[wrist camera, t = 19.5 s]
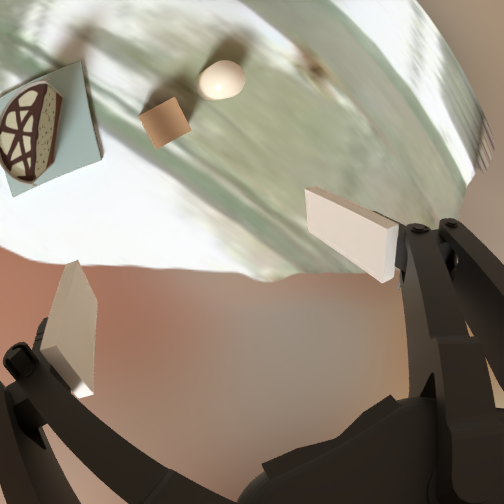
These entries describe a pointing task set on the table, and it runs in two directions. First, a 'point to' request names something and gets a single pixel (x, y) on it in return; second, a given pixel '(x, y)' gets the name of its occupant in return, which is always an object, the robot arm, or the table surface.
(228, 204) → the table surface
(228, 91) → the cream cylinder
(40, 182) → the teal board
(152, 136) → the walnut block
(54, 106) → the food container
